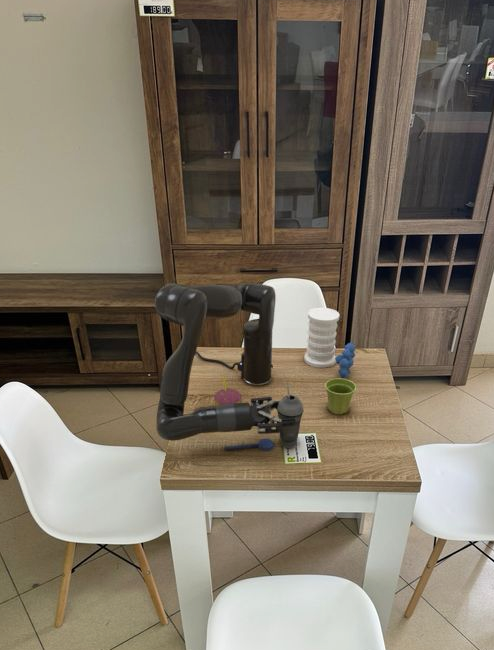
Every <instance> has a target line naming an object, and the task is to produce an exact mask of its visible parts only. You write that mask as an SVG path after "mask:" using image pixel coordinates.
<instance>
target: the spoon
mask: <svg viewBox="0 0 494 650" xmlns="http://www.w3.org/2000/svg"><path fill="white" fill-rule="evenodd" d="M274 447H275V442H274V441H273V440H272V439H270V438H262V439H260V440H259V441H258V443H250V444H249V443H247V444H241V445H240V444H239V445H230V446H229V445H228V446H224V447H223V448H224V450H226V451H229V450H238V449H249V448H250V449H251V448H259V449H260V450H262V451H271V450H273V448H274Z"/></svg>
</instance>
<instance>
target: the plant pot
mask: <svg viewBox="0 0 494 650" xmlns="http://www.w3.org/2000/svg"><path fill="white" fill-rule="evenodd" d="M324 387H325V390H326V393H327V408H328V409H327V410H328V411H330V412H331V413H332V414H335V415H342V414H343V415H344V414H346V413H348V411H349V407H350V404H351V402H352V401H351V400H352V397H353V395H354V393H355V392H356V390H357V385H356V383H355V382H353V381H352V380H350V379H347V378H346V379H343V378H340V377H336V378H330V379H328V380H327V381H326V382H325V383H324Z"/></svg>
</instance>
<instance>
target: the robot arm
mask: <svg viewBox="0 0 494 650" xmlns="http://www.w3.org/2000/svg"><path fill="white" fill-rule="evenodd" d="M276 296H277V295H276V290H275V288H274V287H273V286H271V285H268V284H262V283H257V282H251V281H250V282H243V283H239V284H235V285H234V284H230V283H214V284H201V285H186V284H180V283H176V282H171V283H167V284H166V285H164V286H162V287H161V289H159V290H158V292H157V294H156V296H155V298H154V309H155V311H156V313H157V315H158V316H159V317H161V318H162V319H163V320H165V321H167V322H170V323H173V324H176V325H179V326H182V327H183V334H182V339H181V341H180V343H179V345H178V346H177V348H176V349H175V351H174V352H173V353H172V354H171V356H169V358H168V359H167V361H166V362H165V363H164V365H163V368H162V371H161V377H160V384H159V386H160V387H159V400H158V404H157V405H158V406H157V411H156V425H155V426H156V433H157V435H158V436H159V437H160V438H161V439H163V440H166V441H171V442H172V441H181V440H184V439H188V438H191V437H195V436H198V435H201V434H209V433H211V434H213V433H232V432H244V431H251V430H252V428H253V427H256V428H257V434H258V435H266V434H269V435H270V434H280V430H281V428H282V427H289V426H294V425H295V421H296V420H295V418H282V419H279V417H276V416H275V415H274V414H272V413H271V412H272V411H274V410H277V407H278V404H279V402H280V400H275V399H273V398H272V396H263V397H262V396H261V397H254V398H250V402H241V403H234V404H223V405H218V406H217V405H209V406H200V407H199V406H198V407H196V408H195V409H194V410H193V411H192V412H191V413H186V414H185V405H186V404H185V403H186V401H187V400H188V399H187V398H188V394H189V386H190V379H191V372H192V366H193V363H194V359H195V355H197V356H198V358H200V359H201V360H203V361H206V362H214V363H218V364H222V365H223V366H224V367H226V368H228V369H231V370H233V369H234V368H235V367H236V366H237V367H236V369H237V371H239V372H240V376H241V377H240V378H241V380H243V381H244V383H246V384H247V385H249V386H253V387H262V386H266V385H268V384H270V383H271V382H272V369H274V365H273V364H272V362H273V361H272V360H273V329H274V323H275V313H276V312H275V311H276V310H275V309H276V301H277V300H276V299H277V298H276ZM240 311H242V312H245V313H249V314H254V315H258V318H255V319H251V320H249V321H248V320H247V321H246V322H245V323H244V325H243V352H242V353H241V354H240V357H241V358H240V361H239V362H234V363H233V364H232V365H231V366H230V365H228V364H227V363H225V362H224V361H222V360H219V359H214V358H206V357H204V356H202V355H201V354H200V353H199V351H197V349H198V346H199V342H200V339H201V335H202V332H203V329H204V325H205V321H206V318H209V319H216V320H217V319H219V320H220V319H227V318H232V317H234V316H236V315H238V314H239V312H240Z"/></svg>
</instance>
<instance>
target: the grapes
mask: <svg viewBox="0 0 494 650" xmlns="http://www.w3.org/2000/svg"><path fill="white" fill-rule="evenodd" d="M355 351H356V345H354V343H351V342H348V343H346V345H344V349H343V351H341V354H338V355H337V356H336V358H335V360H336V364H337V365H338V366H339V369H338V370H337V372H338V375H339V378H343V379H347V378H348V377H349V375H350V374H351V368H352V367H354V363H355V361H354V358H355V357H356V353H355Z"/></svg>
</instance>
